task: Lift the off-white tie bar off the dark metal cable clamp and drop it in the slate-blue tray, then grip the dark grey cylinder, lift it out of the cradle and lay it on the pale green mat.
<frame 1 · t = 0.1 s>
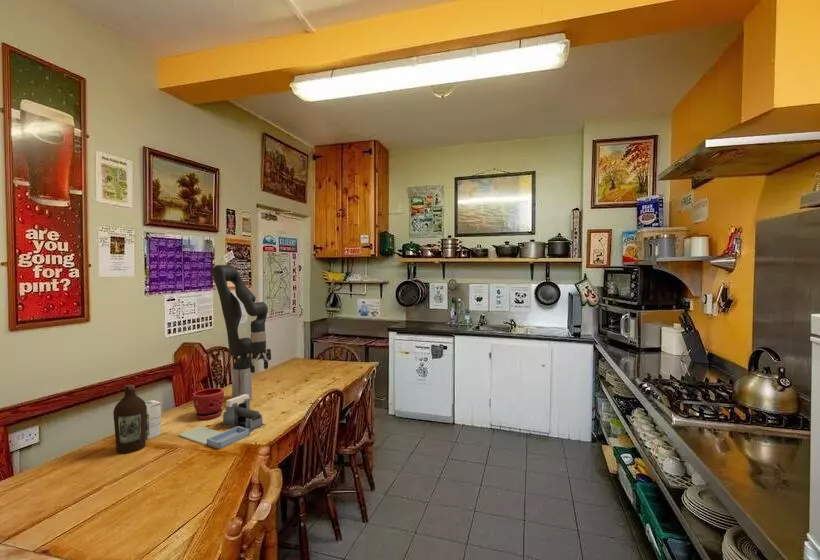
hand: (259, 370, 203), 17 cm above the table, tool pointing down, fingers open, 8 cm apart
plant pot: (208, 416, 185), on the table
dark grey cylinder: (242, 416, 174), point 4 cm above the table, touching clamp rack
clamp rack: (242, 425, 174), on the table
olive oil: (130, 448, 152), on the table
tray: (229, 440, 159), on the table
tie bar: (238, 403, 175), point 10 cm above the table, touching clamp rack
mat: (202, 435, 163), on the table
syrup box: (150, 436, 163), on the table
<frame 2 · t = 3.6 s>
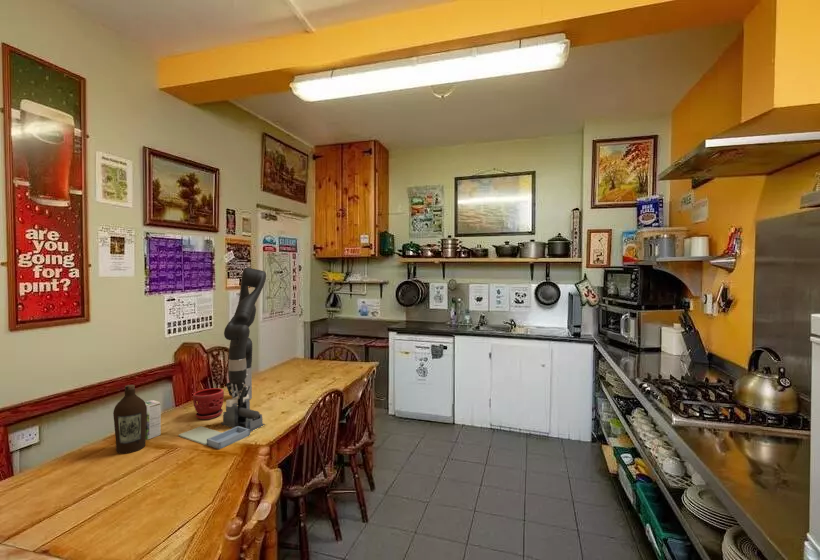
hand: (238, 405, 175), 8 cm above the table, tool pointing down, fingers closed on tie bar, 2 cm apart
tie bar: (237, 403, 175), point 10 cm above the table, touching clamp rack, gripper
everything else where it was.
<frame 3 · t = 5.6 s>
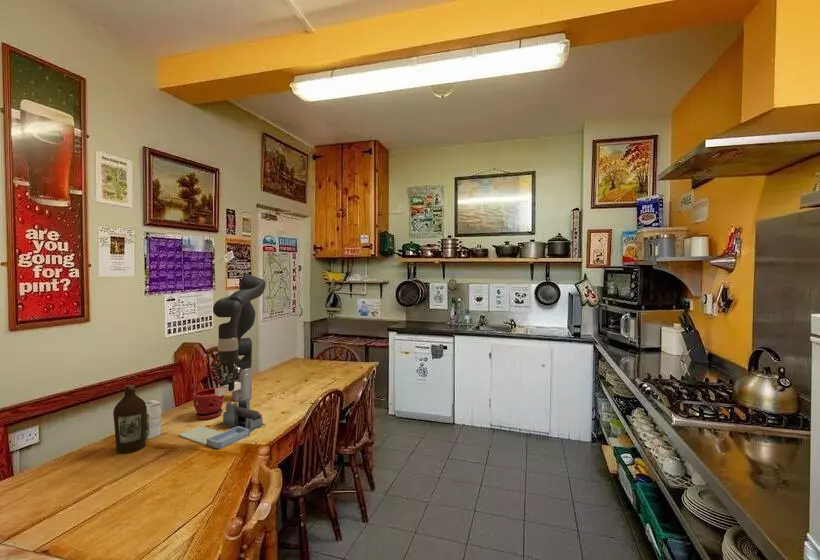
hand: (228, 389, 158), 21 cm above the table, tool pointing down, fingers closed on tie bar, 2 cm apart
tie bar: (228, 391, 158), point 20 cm above the table, touching gripper
everything else where it was.
when the fingers open (3 cm above the table, at t = 7.9 s): tie bar drops 1 cm, resting on tray.
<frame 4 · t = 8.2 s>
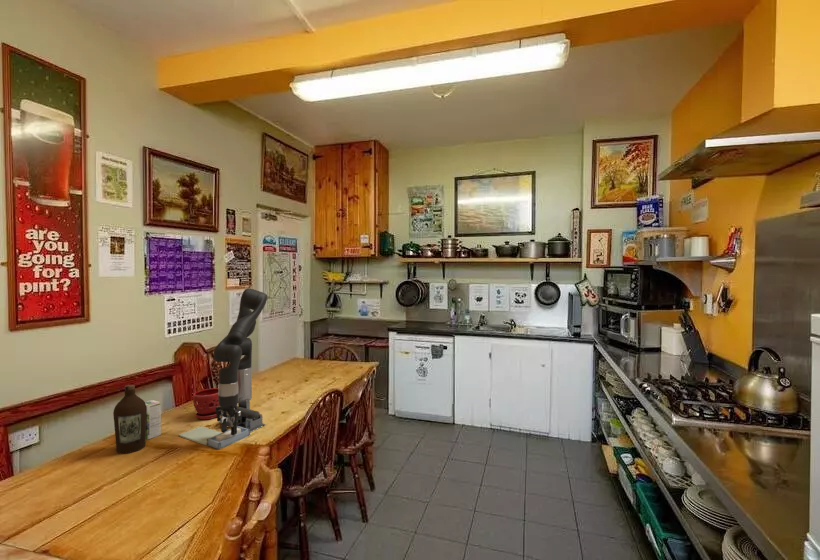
hand: (229, 433, 159), 3 cm above the table, tool pointing down, fingers open, 5 cm apart
tie bar: (228, 438, 159), point 1 cm above the table, touching tray
everything else where it was.
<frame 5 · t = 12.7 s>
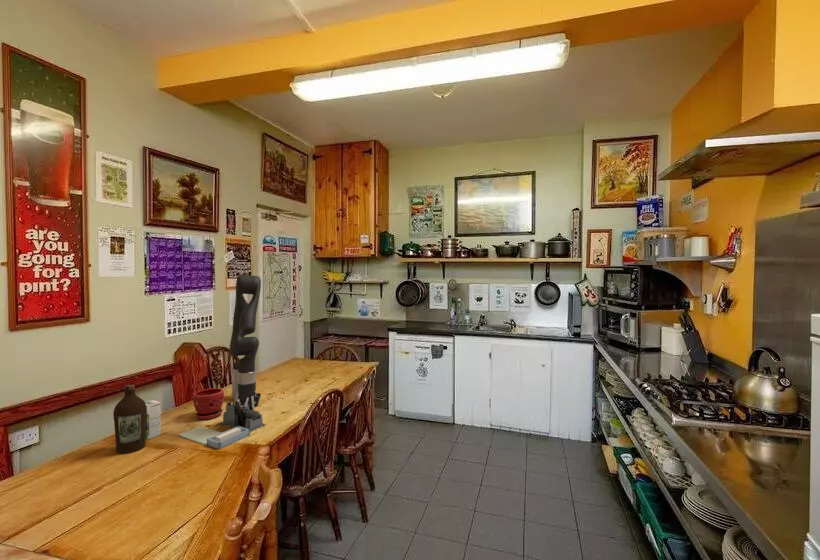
hand: (247, 418, 173), 3 cm above the table, tool pointing down, fingers closed on dark grey cylinder, 3 cm apart
dark grey cylinder: (242, 416, 174), point 4 cm above the table, touching clamp rack, gripper
everything else where it was.
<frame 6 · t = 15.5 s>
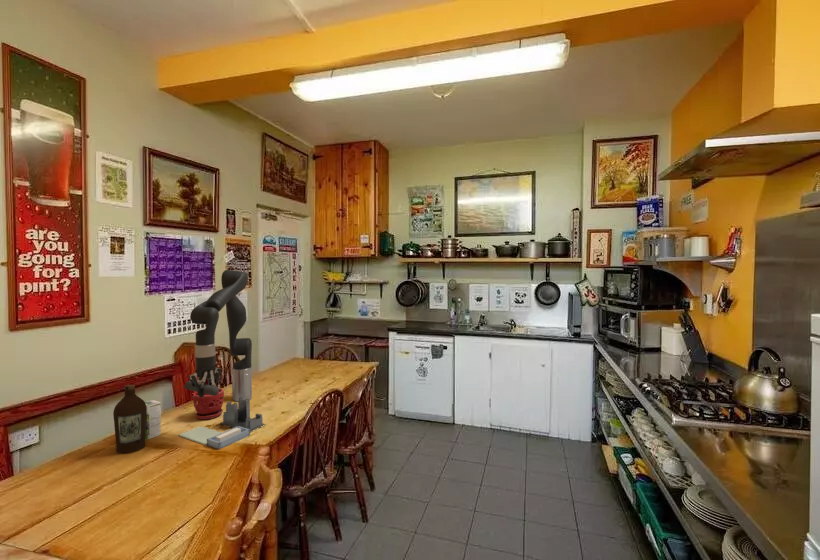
hand: (206, 395, 161), 18 cm above the table, tool pointing down, fingers closed on dark grey cylinder, 3 cm apart
dark grey cylinder: (201, 392, 163), point 19 cm above the table, touching gripper
everything else where it was.
when the fingers open (1 cm above the table, at t = 18.7 s): dark grey cylinder drops 1 cm, resting on mat.
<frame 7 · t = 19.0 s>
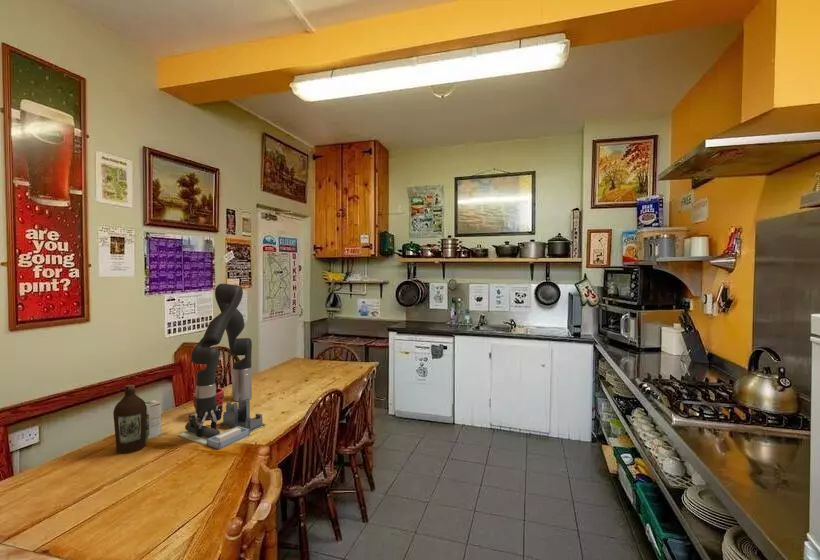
hand: (206, 434, 162), 1 cm above the table, tool pointing down, fingers open, 5 cm apart
dark grey cylinder: (202, 434, 163), point 1 cm above the table, touching mat
everything else where it was.
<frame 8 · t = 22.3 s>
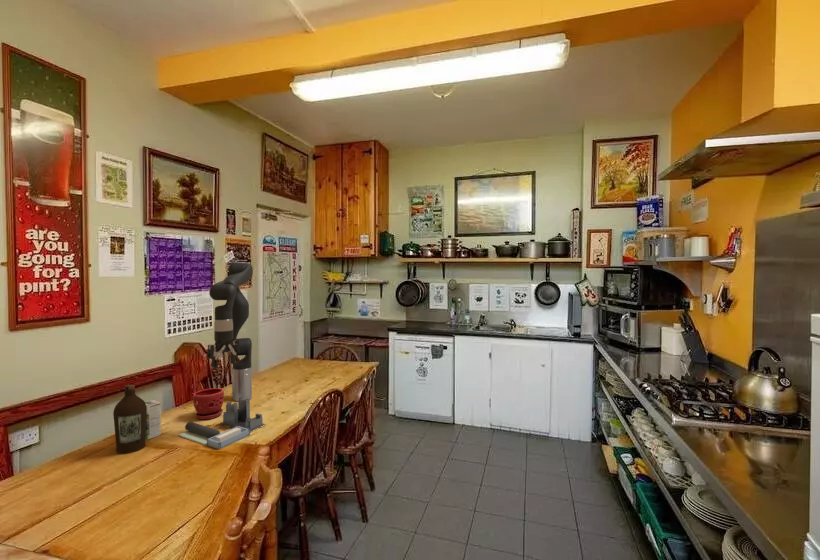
hand: (224, 365, 170), 28 cm above the table, tool pointing down, fingers open, 8 cm apart
nothing on the table moved.
at the end: tie bar inside the target area on the tray (0.2 cm from its centre), point 0.6 cm above the tray's base; dark grey cylinder inside the target area on the mat (0.4 cm from its centre), point 0.6 cm above the mat's base; dark grey cylinder point 0.6 cm above the table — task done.
